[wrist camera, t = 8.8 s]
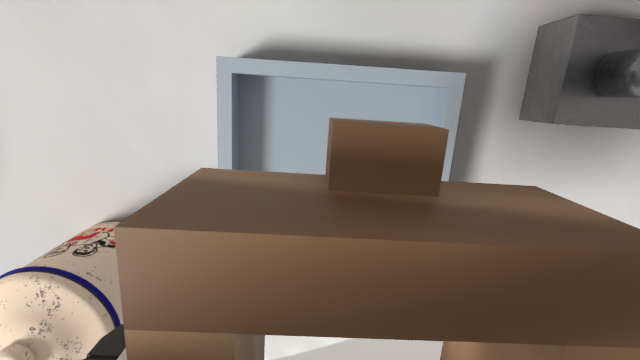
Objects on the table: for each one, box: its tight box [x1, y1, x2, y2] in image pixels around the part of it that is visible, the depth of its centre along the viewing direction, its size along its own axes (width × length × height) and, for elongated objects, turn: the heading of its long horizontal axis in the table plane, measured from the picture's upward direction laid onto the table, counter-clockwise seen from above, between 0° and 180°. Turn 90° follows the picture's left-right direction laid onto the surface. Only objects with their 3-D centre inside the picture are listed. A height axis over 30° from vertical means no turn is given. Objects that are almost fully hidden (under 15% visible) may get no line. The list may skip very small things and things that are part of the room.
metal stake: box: [519, 15, 640, 129], centre depth 22 cm, size 7×7×10 cm
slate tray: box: [216, 56, 466, 181], centre depth 26 cm, size 17×17×4 cm
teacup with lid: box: [0, 222, 123, 360], centre depth 24 cm, size 12×9×12 cm
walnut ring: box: [114, 118, 640, 360], centre depth 8 cm, size 10×9×4 cm
